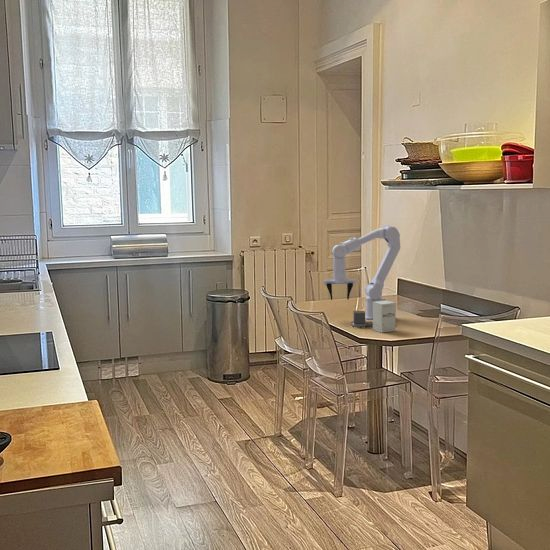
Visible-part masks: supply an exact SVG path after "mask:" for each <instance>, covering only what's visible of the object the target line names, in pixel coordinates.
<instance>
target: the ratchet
mask: <svg viewBox="0 0 550 550" xmlns="http://www.w3.org/2000/svg"><path fill="white" fill-rule="evenodd" d="M351 326H352V327H351ZM367 326H373V321H365V324H354V322H353V321H351V322H350V327H351V328H354V327H365V328H367Z"/></svg>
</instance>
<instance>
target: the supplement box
mask: <svg viewBox="0 0 550 550" xmlns="http://www.w3.org/2000/svg"><path fill="white" fill-rule="evenodd" d="M385 300H386V299H385ZM396 306H397V305H396V302H395V301H390V300H386V301H376V302H373V319H372V322H373V327H372V330H373V331H376V332H378V333H380V332H381V333H387V332H389V333H390V332H396V327H397V325H396V321H397V320H396V319H397V318H396V315H397V314H396V311H397V310H396V309H397V307H396Z"/></svg>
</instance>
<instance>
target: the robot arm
mask: <svg viewBox="0 0 550 550" xmlns="http://www.w3.org/2000/svg"><path fill="white" fill-rule="evenodd" d="M400 238H401V233H400V232H399V231H398V228H397V227H395V226H392V225H384V226H381V227H379V228H376V229H373V230H372V231H370V232H368V233H366V234H364V235H363V236H360V237H358V238H357V237H349V238H348V240H346V241H341V242H339V243H340V244H336V245H334V246H333V248H332V250H331V254H332V255H333V258H332V259H333V260H332V273H333V274H332V277H333V279H324V280H323V285H326V287H327V290H328V292H329V296H330V300H331V301H333V285H347V286H346V289H347V290H346V291H347V293H346V299H347V300H349V299H350V294H351V292H352V289H353V287H354V285H356V279H349V278H348V279H346V255H348V254H351V253H353V252H355V251H357V250H359V249H361V247H362V245H364V244H366V243H369V242H371V241H373V240H375V239H381V240H382V239H384V241H386V243H387V246H388V248H387V250H386V252H385V254H384V256H383V258H382V260H381V263H380V265H379V267H378V269H377V271H376V273H375V275H374V277H373V278H372V279H371V280H370V282H369V283H368V284H367V285H366V286H365V289H364V293H365V294H366V297H365V320H373V302H376V301H386V298H382V296H383V288H384V287H385V286H384V285H385V281H386V279H387V277H388V276H389V275H388V274H389V273H390V270H391V268H392V267H393V265H394V262H395V260H396V258H397V256H398V255H399V252H400V250H401V239H400Z"/></svg>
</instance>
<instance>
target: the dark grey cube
mask: <svg viewBox="0 0 550 550" xmlns="http://www.w3.org/2000/svg"><path fill="white" fill-rule="evenodd" d="M352 312H353V314H352V316H353V317H352V319H353V321H352V322H354V324H365V322H366V318H365V315H366V310H353V311H352Z"/></svg>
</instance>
